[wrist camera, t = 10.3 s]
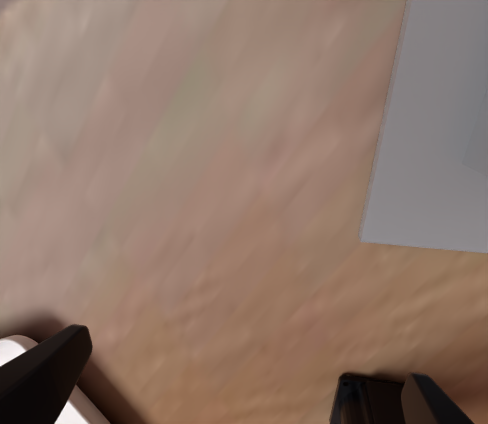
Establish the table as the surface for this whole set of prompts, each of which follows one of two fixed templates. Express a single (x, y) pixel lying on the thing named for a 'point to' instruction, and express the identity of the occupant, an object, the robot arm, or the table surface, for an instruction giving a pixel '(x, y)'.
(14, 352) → the salad plate
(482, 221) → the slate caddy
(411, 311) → the table surface
